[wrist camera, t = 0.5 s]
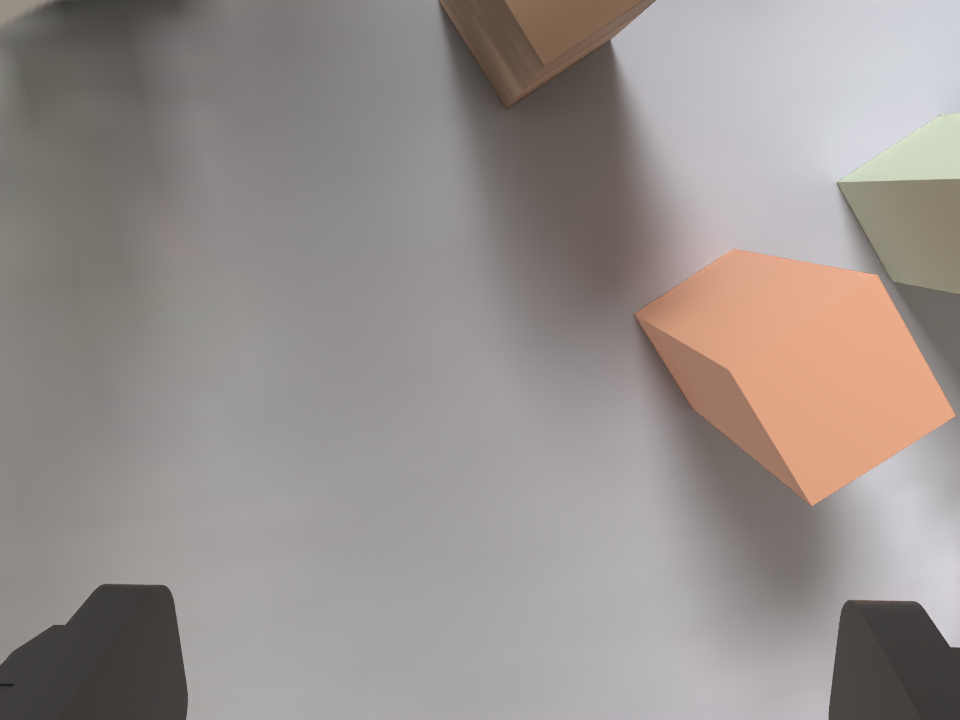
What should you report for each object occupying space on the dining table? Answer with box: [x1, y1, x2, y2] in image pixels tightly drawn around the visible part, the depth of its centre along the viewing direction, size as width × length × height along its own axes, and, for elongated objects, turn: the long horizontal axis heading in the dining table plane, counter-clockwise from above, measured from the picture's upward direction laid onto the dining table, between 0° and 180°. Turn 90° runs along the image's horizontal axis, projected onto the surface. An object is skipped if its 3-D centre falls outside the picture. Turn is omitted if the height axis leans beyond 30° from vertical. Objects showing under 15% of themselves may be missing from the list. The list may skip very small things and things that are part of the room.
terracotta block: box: [634, 249, 956, 506], centre depth 26 cm, size 4×4×10 cm
